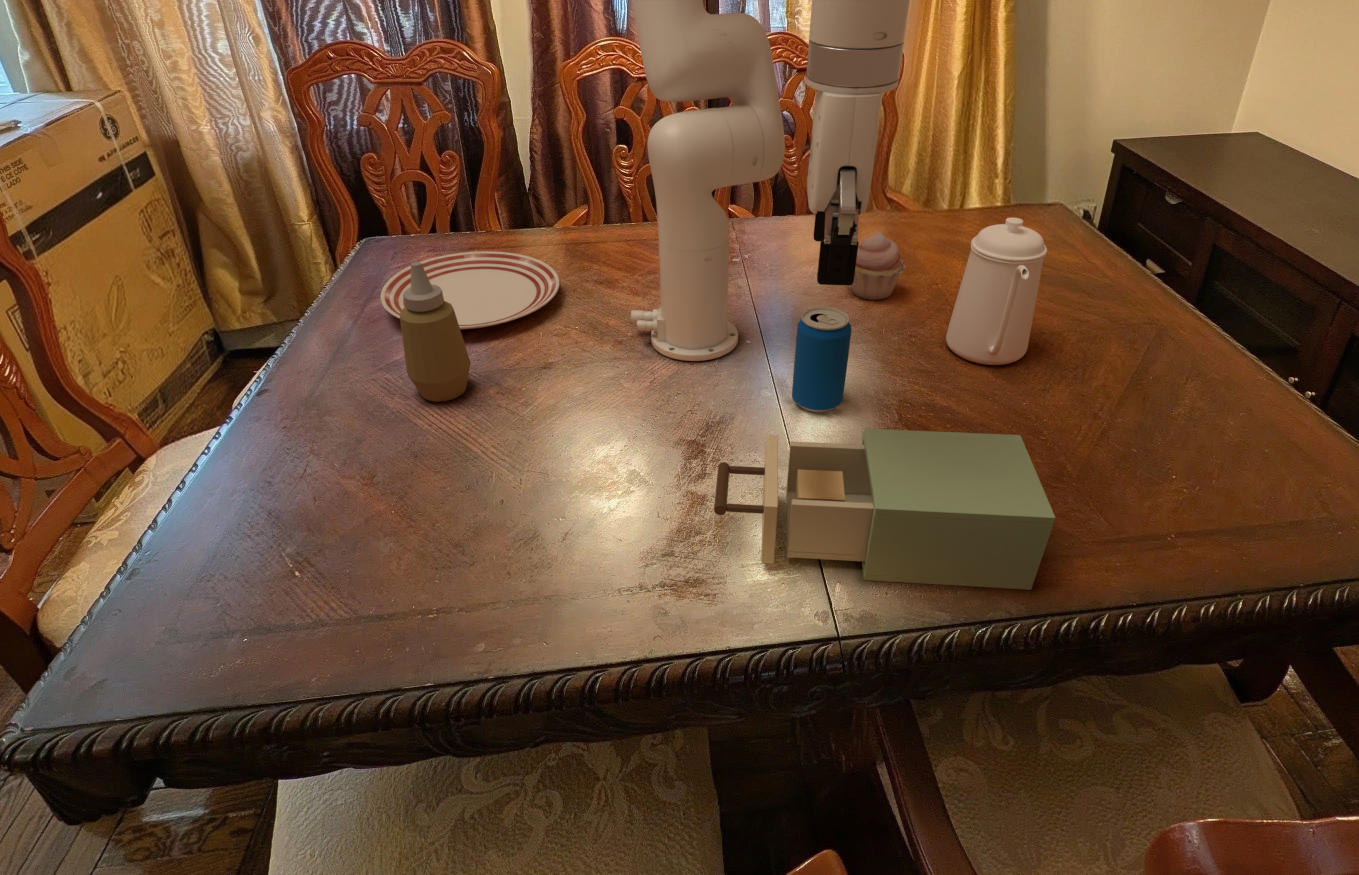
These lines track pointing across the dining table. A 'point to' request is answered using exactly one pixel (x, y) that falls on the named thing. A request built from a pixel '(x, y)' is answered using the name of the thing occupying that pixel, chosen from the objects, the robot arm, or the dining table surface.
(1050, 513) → the cabinet
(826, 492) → the block
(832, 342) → the beverage can
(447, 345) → the squeeze bottle
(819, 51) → the robot arm
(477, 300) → the dinner plate
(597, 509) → the dining table surface
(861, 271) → the cupcake
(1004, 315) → the coffeepot
